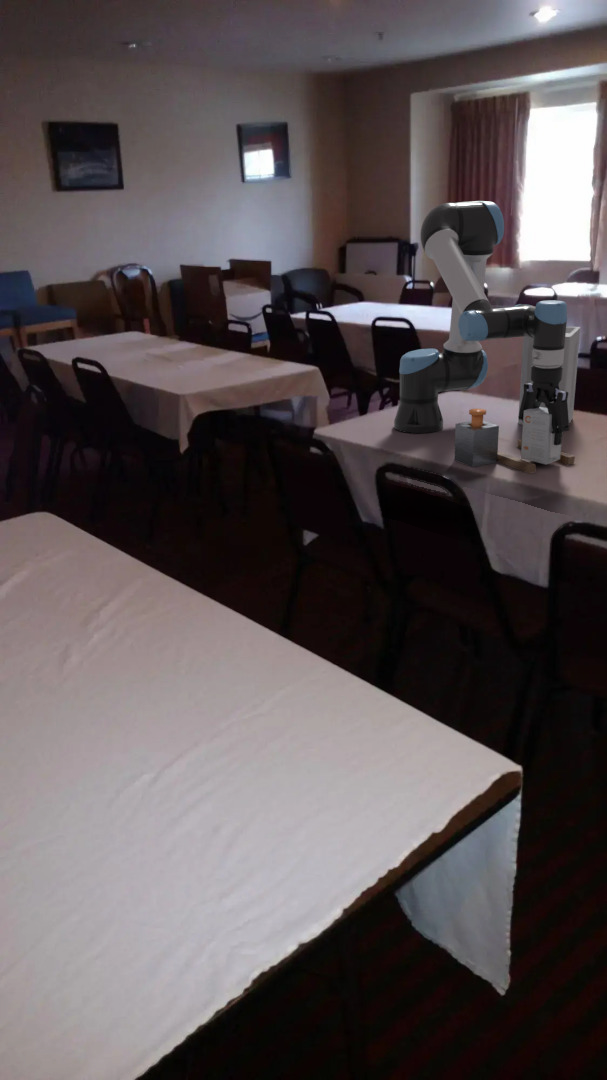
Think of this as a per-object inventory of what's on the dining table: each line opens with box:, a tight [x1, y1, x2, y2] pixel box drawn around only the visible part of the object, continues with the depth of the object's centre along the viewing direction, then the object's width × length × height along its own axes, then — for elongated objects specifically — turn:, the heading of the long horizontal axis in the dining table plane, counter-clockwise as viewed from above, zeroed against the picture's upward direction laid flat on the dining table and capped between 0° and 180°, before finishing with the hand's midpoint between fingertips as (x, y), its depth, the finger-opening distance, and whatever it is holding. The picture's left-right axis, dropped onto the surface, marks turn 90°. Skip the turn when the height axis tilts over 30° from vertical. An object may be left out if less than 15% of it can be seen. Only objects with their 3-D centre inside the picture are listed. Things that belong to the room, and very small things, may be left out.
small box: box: [520, 407, 563, 465], centre depth 208 cm, size 8×6×13 cm
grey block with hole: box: [454, 420, 500, 468], centre depth 214 cm, size 8×8×10 cm
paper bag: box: [517, 326, 581, 426], centre depth 242 cm, size 19×15×28 cm
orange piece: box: [468, 408, 487, 427], centre depth 212 cm, size 4×4×7 cm
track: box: [497, 438, 575, 474], centre depth 215 cm, size 20×15×2 cm
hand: (540, 452), depth 209 cm, fingers closed on small box, 9 cm apart
